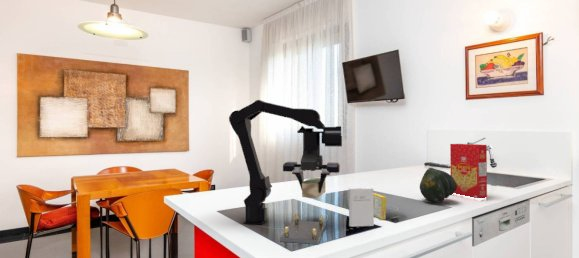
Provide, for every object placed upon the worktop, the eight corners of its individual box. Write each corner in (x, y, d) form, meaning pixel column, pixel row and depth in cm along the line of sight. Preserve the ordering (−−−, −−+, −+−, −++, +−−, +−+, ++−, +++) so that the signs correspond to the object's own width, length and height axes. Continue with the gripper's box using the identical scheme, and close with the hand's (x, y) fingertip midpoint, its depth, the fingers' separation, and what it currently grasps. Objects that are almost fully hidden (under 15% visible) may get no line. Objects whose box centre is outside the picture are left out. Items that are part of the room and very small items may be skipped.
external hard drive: (348, 225, 110) (348, 188, 110) (372, 224, 110) (372, 187, 110) (350, 226, 108) (349, 189, 108) (374, 225, 109) (373, 188, 109)
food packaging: (450, 195, 158) (450, 143, 158) (458, 194, 160) (458, 143, 160) (478, 201, 145) (478, 145, 145) (486, 200, 147) (486, 144, 147)
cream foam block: (302, 197, 109) (302, 182, 109) (312, 191, 119) (312, 177, 119) (316, 198, 107) (316, 183, 107) (325, 192, 117) (325, 178, 117)
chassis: (280, 241, 94) (280, 228, 94) (293, 223, 111) (293, 213, 111) (318, 244, 91) (318, 231, 91) (326, 225, 109) (325, 214, 109)
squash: (413, 202, 143) (413, 168, 143) (429, 197, 153) (429, 165, 153) (447, 208, 132) (446, 171, 132) (461, 202, 142) (461, 168, 142)
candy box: (386, 220, 116) (386, 196, 116) (381, 220, 116) (381, 197, 116) (365, 209, 132) (365, 188, 132) (360, 209, 131) (360, 189, 131)
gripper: (279, 147, 104) (279, 196, 104) (337, 148, 100) (337, 198, 100) (286, 145, 115) (286, 190, 115) (339, 146, 111) (339, 191, 111)
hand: (311, 192), depth 110 cm, fingers closed on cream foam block, 5 cm apart
